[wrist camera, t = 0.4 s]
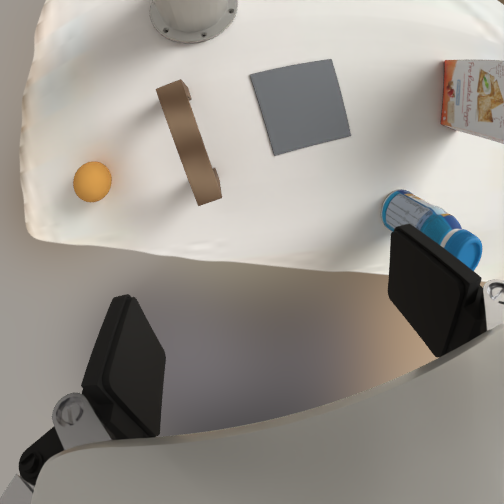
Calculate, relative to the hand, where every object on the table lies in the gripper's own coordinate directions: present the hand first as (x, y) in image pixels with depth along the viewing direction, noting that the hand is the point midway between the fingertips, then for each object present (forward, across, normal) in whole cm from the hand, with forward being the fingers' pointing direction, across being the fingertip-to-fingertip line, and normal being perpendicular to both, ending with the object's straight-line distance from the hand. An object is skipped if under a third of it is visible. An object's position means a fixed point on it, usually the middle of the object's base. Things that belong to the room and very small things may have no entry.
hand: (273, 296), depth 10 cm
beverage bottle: (+36, -29, +16) cm, 48 cm away
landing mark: (+35, -13, -5) cm, 38 cm away
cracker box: (+35, -45, -6) cm, 58 cm away
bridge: (+35, +4, -4) cm, 36 cm away
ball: (+32, +20, -2) cm, 38 cm away
